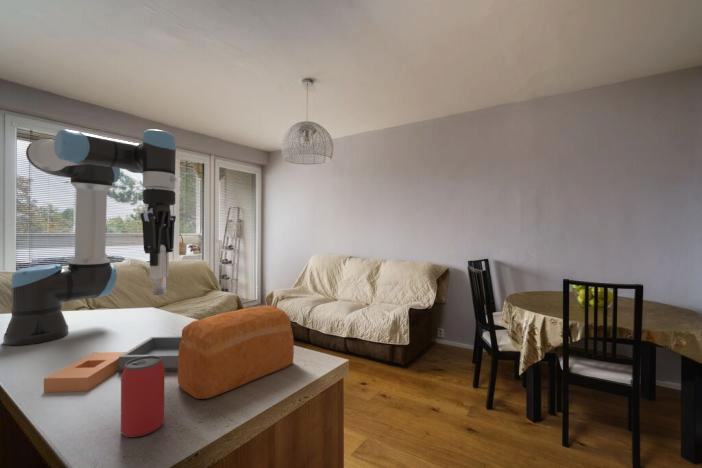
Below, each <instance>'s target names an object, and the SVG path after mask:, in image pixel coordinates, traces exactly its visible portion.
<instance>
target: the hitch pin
mask: <svg viewBox="0 0 702 468" xmlns="http://www.w3.org/2000/svg"><path fill="white" fill-rule="evenodd" d="M160 253H162V278H152V295H153V296H160V295H161V296H162V295H166V294H167V276H166V247H165V246H164V245H163V244H160Z"/></svg>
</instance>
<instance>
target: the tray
mask: <svg viewBox="0 0 702 468" xmlns="http://www.w3.org/2000/svg"><path fill="white" fill-rule="evenodd" d="M181 339H182V335H180V336H151V337H149V338H147V339H146V340H144V341H142V342H141V343H139V344H137V345H136V346H134V347H132V348H131V349H129V350H128V351H125V352H126V353H124V354H123V355H121V356H119V370H118V374H122V373H123V371H124V368H125V364H126V363H127V362H128V361H130V360H132V359H135V358H139V357H144V356H159V357H160V358H161V362H162V364H163V366H164V373H166V372H167V373H168V372H171V373H172V372H178V355H179V345H180V343H181Z"/></svg>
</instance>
